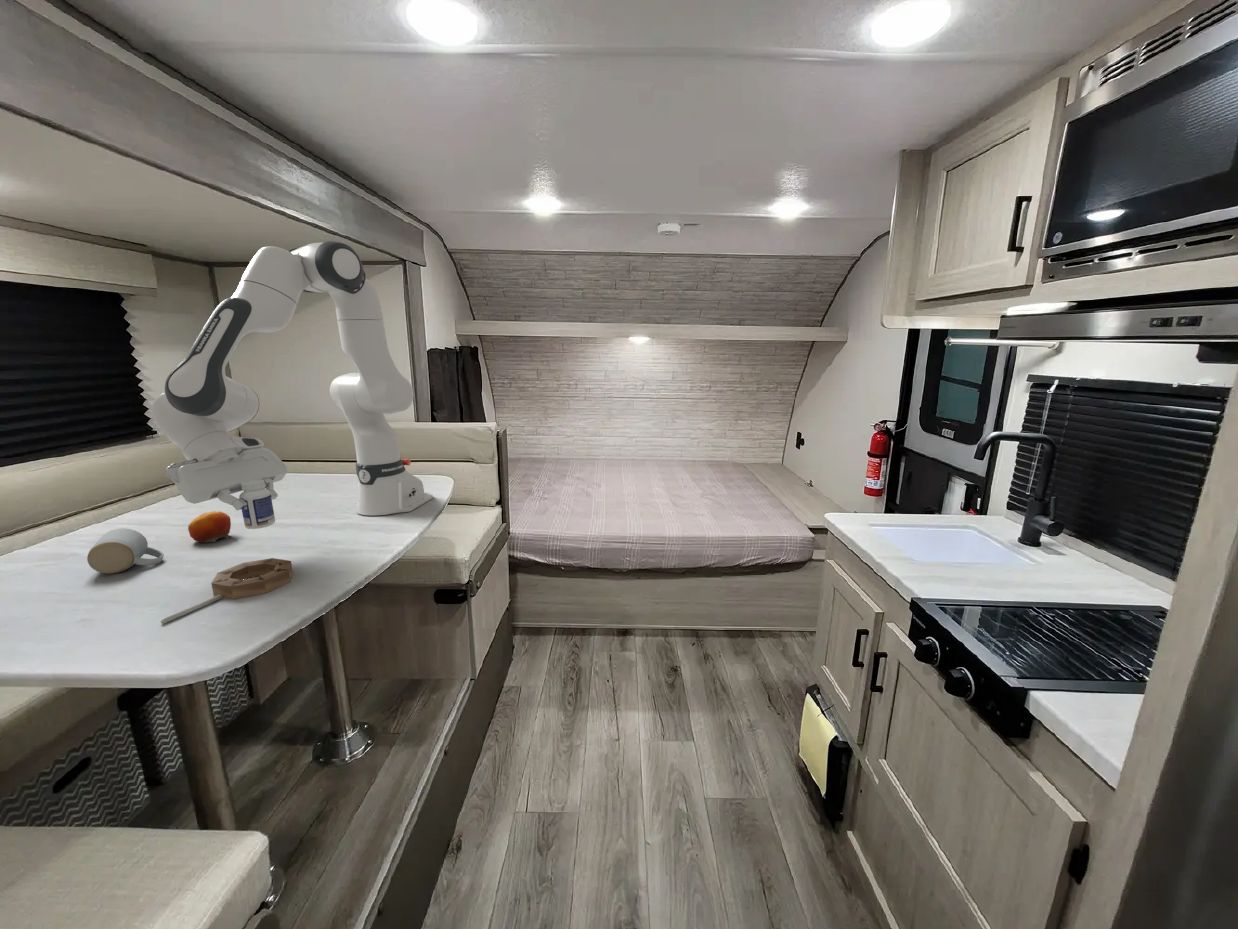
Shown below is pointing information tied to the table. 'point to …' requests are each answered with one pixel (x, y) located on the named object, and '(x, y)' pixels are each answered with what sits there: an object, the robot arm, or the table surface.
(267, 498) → the pill bottle
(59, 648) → the table surface
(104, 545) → the ceramic mug
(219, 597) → the grey rod
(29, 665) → the table surface
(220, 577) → the walnut ring
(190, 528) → the fruit
